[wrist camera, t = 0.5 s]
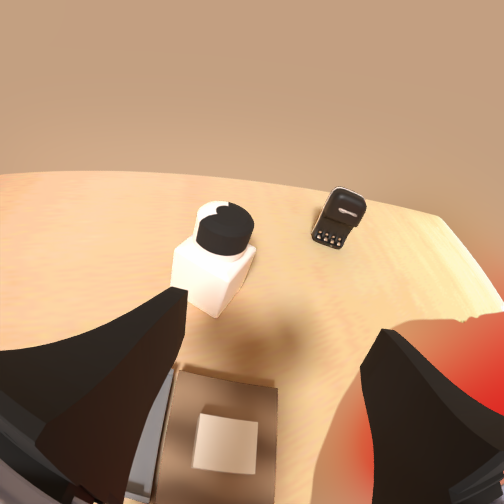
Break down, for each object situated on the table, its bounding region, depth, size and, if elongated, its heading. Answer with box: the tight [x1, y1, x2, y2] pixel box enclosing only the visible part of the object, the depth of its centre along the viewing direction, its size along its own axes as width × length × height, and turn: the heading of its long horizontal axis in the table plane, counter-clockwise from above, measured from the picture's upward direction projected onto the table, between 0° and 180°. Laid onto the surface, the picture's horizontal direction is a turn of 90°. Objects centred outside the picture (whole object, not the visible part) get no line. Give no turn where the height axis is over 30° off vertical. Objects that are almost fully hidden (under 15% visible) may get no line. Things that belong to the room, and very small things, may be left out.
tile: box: [191, 413, 258, 475], centre depth 19 cm, size 5×5×2 cm
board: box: [155, 370, 278, 504], centre depth 20 cm, size 14×10×2 cm
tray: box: [124, 369, 174, 504], centre depth 18 cm, size 14×11×2 cm
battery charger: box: [311, 186, 367, 249], centre depth 48 cm, size 7×4×11 cm, turn 82°
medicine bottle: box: [170, 201, 256, 318], centre depth 32 cm, size 7×7×12 cm
